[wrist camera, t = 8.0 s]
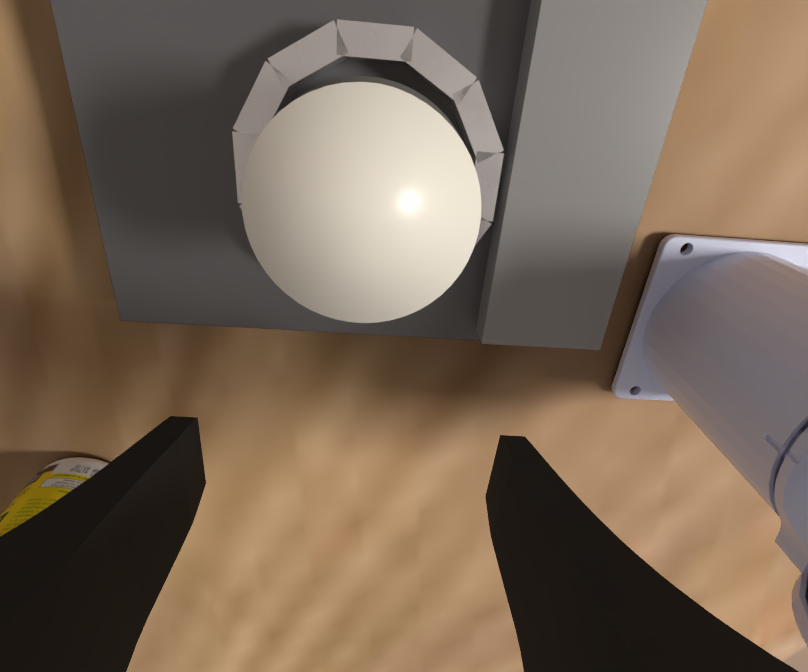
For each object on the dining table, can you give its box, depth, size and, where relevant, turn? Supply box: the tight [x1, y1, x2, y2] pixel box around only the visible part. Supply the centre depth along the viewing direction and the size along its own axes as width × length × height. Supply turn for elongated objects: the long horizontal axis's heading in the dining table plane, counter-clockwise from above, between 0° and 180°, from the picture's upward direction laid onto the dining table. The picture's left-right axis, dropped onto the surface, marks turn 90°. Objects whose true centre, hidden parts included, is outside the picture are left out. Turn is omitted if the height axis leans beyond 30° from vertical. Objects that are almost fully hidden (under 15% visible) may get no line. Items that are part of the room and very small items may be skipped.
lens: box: [241, 76, 481, 323], centre depth 12 cm, size 5×5×7 cm
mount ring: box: [232, 19, 504, 245], centre depth 15 cm, size 8×8×2 cm
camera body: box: [50, 0, 708, 350], centre depth 16 cm, size 18×12×4 cm, turn 85°
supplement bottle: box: [0, 457, 109, 536], centre depth 21 cm, size 6×6×10 cm
